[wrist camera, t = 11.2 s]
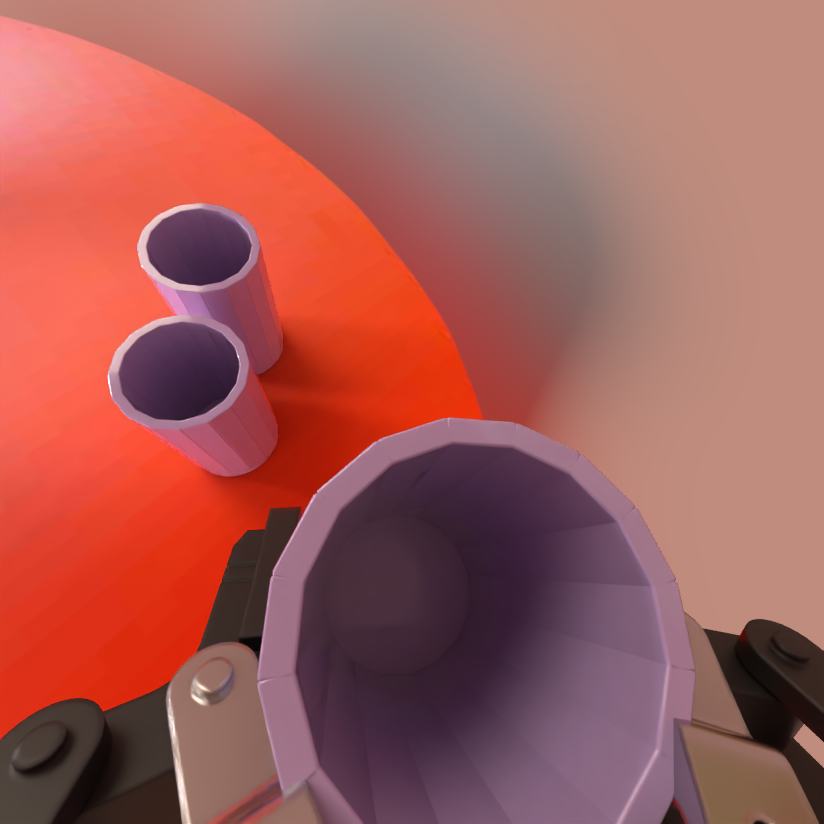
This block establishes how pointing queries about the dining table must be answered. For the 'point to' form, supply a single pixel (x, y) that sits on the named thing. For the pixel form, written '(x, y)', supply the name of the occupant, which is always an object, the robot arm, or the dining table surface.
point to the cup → (214, 274)
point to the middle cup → (195, 393)
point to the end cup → (475, 639)
